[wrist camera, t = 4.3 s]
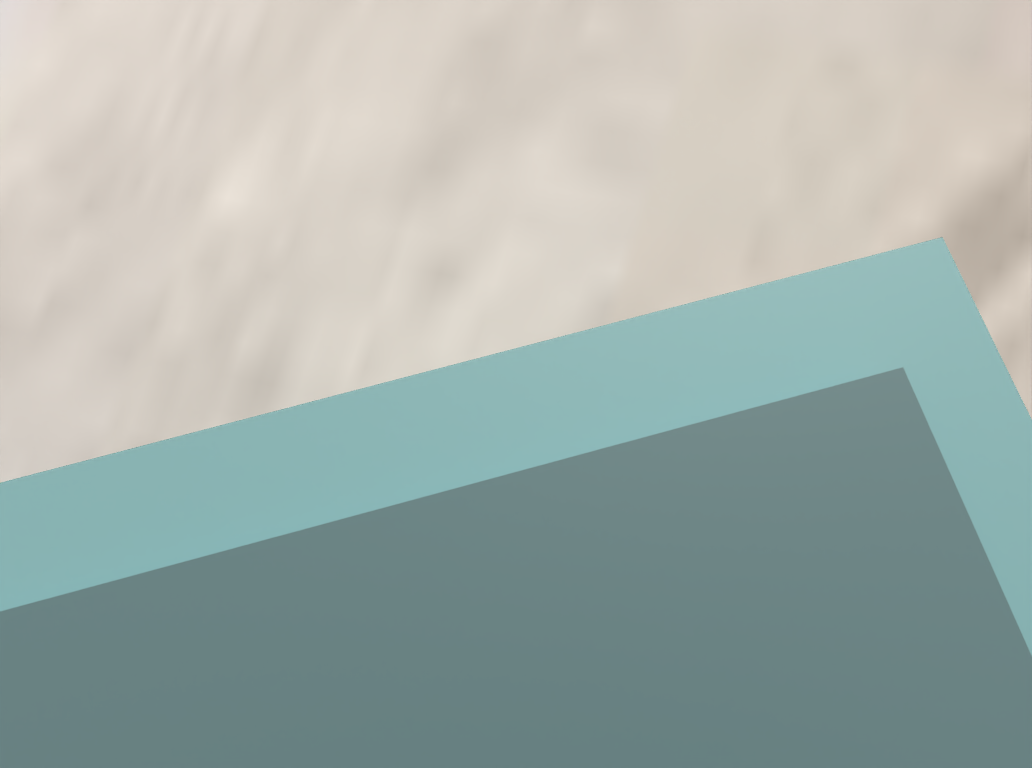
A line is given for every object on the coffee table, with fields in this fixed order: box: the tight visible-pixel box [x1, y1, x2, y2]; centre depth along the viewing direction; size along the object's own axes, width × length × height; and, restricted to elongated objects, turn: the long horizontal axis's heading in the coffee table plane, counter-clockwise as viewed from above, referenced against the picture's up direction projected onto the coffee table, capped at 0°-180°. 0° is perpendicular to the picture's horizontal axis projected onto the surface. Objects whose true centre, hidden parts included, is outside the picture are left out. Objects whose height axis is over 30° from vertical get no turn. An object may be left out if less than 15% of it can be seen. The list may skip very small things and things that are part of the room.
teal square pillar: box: [0, 237, 1032, 768], centre depth 9 cm, size 5×5×14 cm
